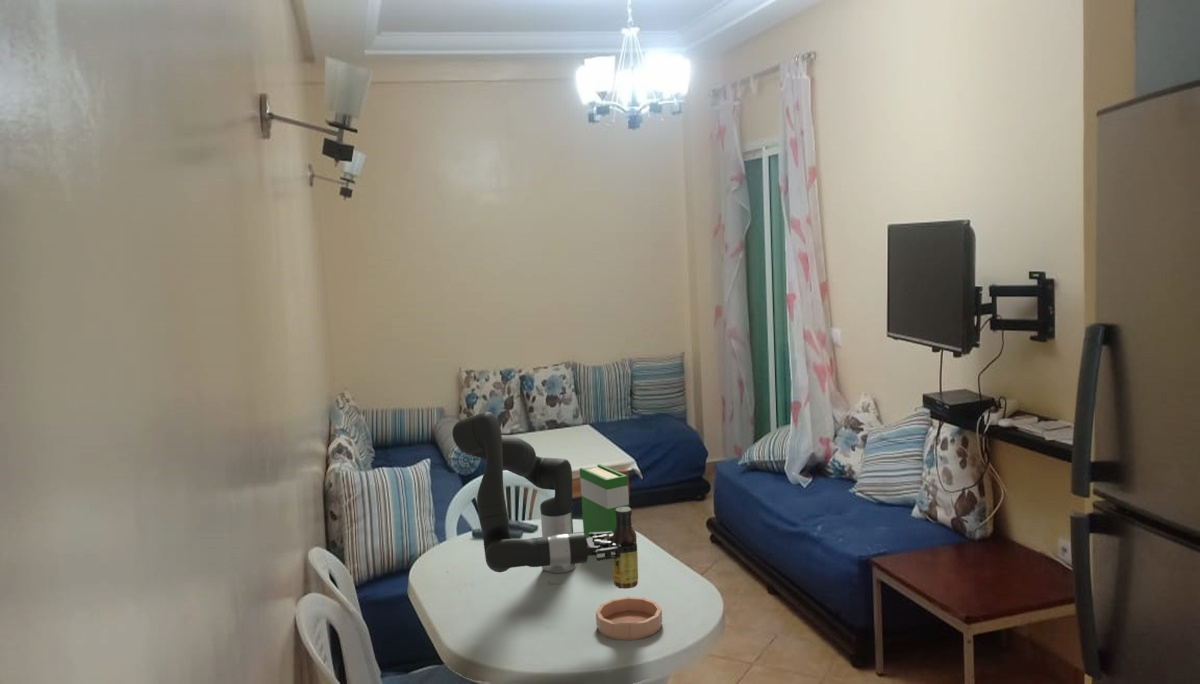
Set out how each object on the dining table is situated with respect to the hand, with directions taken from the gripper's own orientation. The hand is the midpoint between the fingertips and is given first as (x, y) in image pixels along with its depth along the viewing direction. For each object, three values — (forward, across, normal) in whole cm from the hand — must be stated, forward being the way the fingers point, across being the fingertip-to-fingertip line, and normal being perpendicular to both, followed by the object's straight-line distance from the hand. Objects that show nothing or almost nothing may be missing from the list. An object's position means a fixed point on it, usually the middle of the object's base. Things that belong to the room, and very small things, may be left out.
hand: (633, 542), depth 224 cm
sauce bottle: (-2, 0, +11) cm, 11 cm away
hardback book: (+2, +58, +22) cm, 62 cm away
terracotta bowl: (-2, 0, +22) cm, 22 cm away
